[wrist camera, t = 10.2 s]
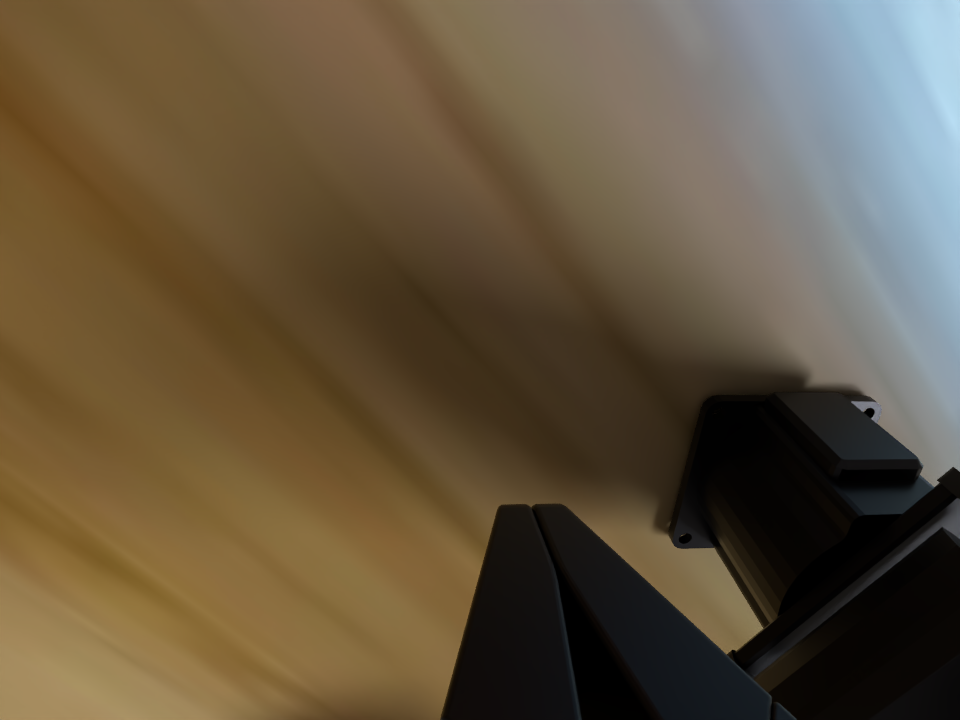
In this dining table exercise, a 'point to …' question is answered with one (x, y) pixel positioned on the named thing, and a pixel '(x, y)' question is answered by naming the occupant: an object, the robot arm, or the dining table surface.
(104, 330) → the dining table surface
